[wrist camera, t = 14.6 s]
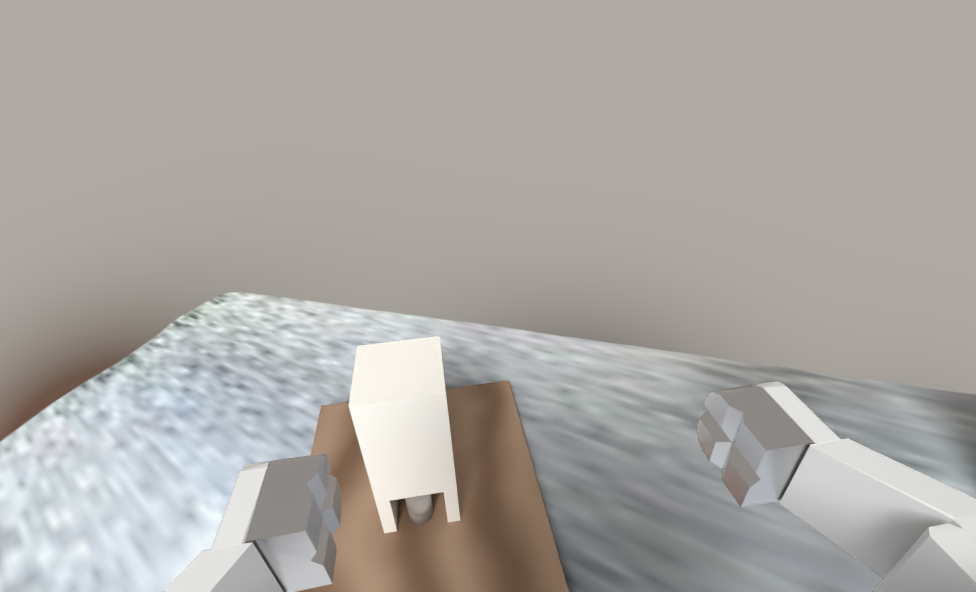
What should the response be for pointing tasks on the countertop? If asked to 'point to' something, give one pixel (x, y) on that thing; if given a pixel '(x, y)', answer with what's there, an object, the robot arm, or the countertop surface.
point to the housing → (403, 424)
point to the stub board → (423, 519)
